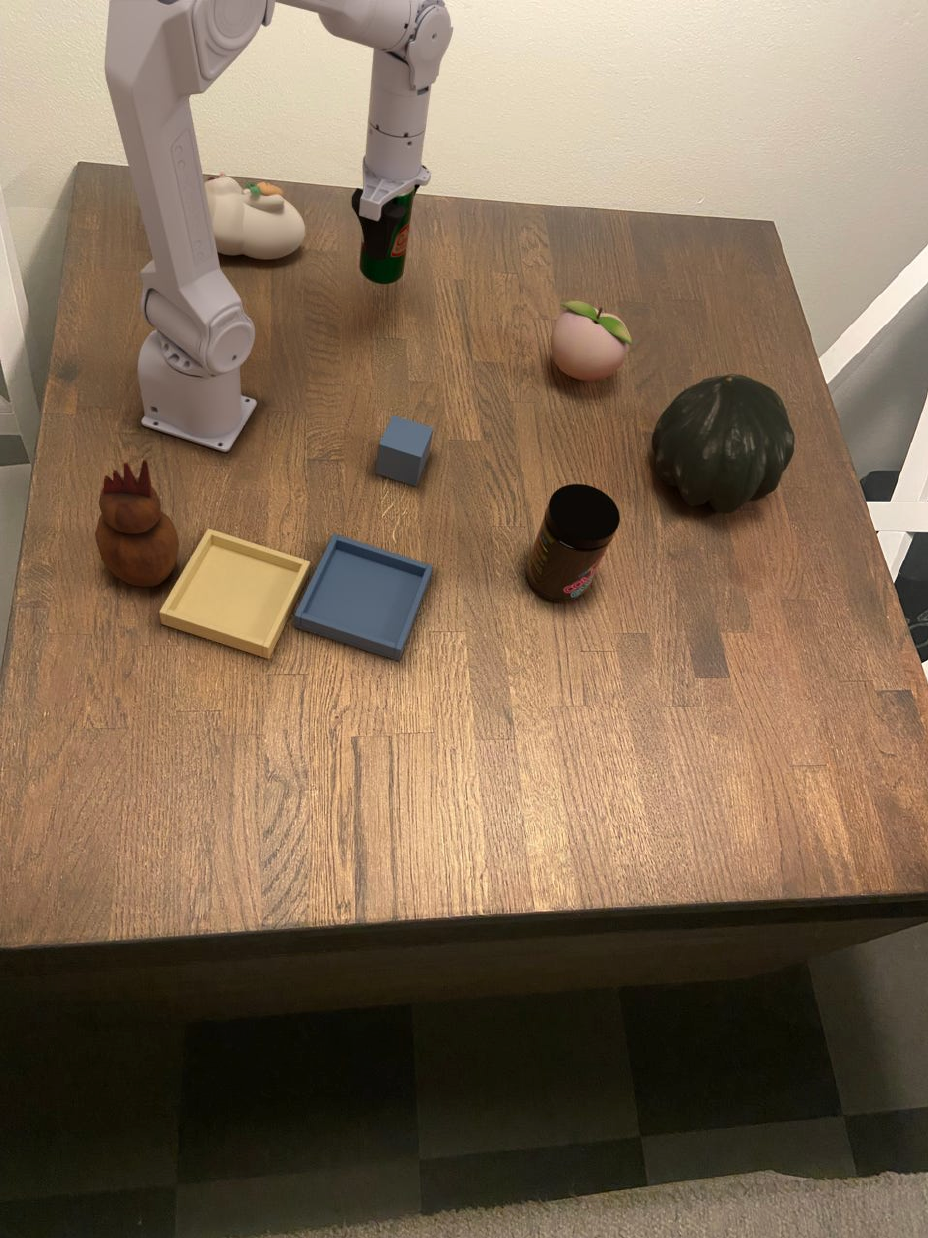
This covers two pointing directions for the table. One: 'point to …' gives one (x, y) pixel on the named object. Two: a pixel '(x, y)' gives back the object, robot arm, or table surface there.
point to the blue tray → (364, 597)
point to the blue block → (404, 450)
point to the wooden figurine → (135, 530)
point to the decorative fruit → (588, 342)
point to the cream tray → (236, 593)
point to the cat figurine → (252, 219)
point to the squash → (724, 442)
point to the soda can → (396, 257)
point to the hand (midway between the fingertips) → (384, 243)
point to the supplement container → (571, 541)
